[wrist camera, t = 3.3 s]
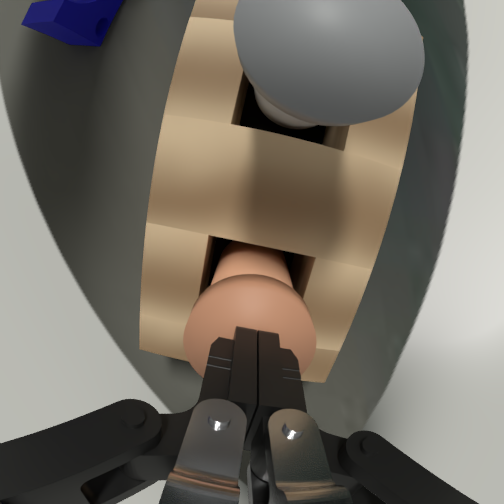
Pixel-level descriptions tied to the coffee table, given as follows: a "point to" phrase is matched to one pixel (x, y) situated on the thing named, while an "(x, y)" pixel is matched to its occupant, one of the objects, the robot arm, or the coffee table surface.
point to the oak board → (260, 195)
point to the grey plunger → (328, 59)
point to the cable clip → (73, 19)
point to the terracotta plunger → (250, 305)
